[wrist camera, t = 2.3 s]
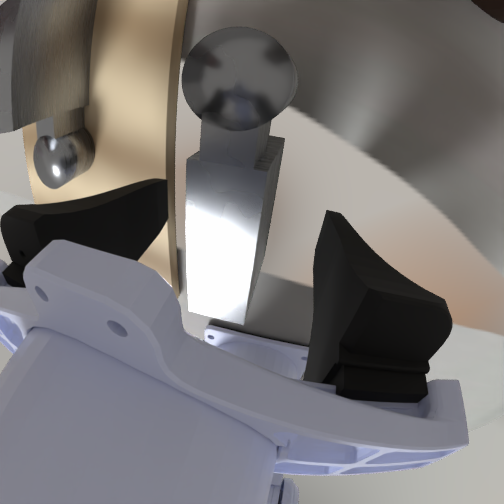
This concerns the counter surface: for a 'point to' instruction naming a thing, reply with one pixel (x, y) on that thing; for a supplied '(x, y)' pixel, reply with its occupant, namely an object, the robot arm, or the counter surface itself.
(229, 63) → the loose hinge leaf
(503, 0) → the coffee mug
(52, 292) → the robot arm
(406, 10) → the counter surface
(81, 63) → the fixed hinge leaf
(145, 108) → the hinge board
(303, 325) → the counter surface
